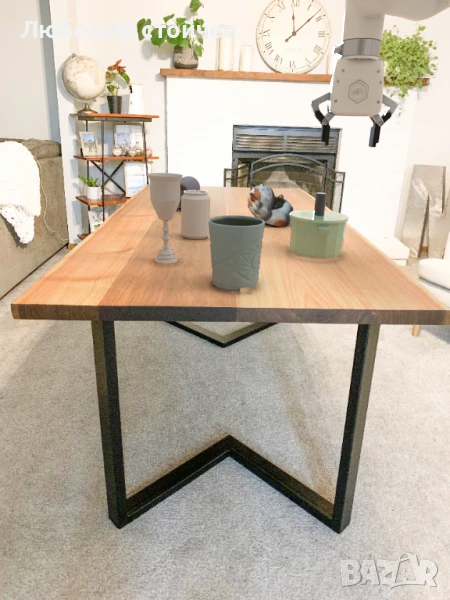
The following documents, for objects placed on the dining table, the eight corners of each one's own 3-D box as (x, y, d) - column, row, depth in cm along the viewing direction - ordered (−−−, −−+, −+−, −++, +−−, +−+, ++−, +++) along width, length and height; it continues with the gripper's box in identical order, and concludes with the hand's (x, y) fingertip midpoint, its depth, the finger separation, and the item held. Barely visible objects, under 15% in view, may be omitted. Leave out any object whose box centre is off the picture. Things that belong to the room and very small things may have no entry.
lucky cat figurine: (291, 229, 130) (273, 186, 124) (254, 240, 136) (235, 200, 129) (297, 206, 142) (281, 167, 135) (263, 217, 147) (246, 180, 140)
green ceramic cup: (267, 291, 80) (272, 225, 76) (212, 293, 78) (214, 226, 74) (252, 273, 89) (256, 214, 85) (203, 275, 87) (204, 214, 83)
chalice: (143, 262, 94) (140, 175, 88) (158, 254, 100) (156, 172, 94) (174, 266, 92) (173, 177, 85) (188, 258, 98) (188, 174, 91)
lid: (341, 215, 110) (344, 190, 107) (354, 227, 97) (358, 198, 95) (286, 213, 110) (288, 188, 108) (292, 224, 97) (294, 196, 95)
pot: (334, 244, 115) (338, 211, 112) (349, 264, 98) (354, 226, 95) (285, 242, 115) (288, 209, 112) (292, 262, 98) (296, 224, 95)
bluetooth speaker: (177, 200, 172) (177, 174, 169) (201, 202, 172) (201, 175, 168) (164, 210, 151) (163, 180, 148) (191, 212, 150) (191, 182, 147)
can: (177, 239, 114) (177, 191, 110) (185, 232, 121) (185, 188, 117) (206, 241, 113) (207, 193, 109) (211, 234, 120) (213, 189, 116)
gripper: (317, 48, 83) (309, 145, 89) (411, 50, 82) (396, 148, 88) (312, 55, 90) (304, 144, 96) (398, 57, 89) (385, 147, 95)
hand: (348, 146), depth 92 cm, fingers open, 9 cm apart
